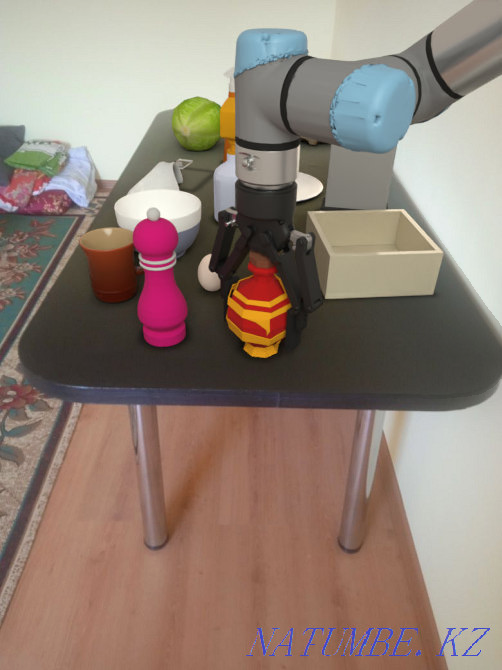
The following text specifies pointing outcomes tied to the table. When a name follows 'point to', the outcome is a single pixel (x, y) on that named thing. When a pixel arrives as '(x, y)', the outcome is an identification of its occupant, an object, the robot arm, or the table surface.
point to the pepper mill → (159, 281)
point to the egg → (208, 275)
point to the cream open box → (373, 254)
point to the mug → (111, 263)
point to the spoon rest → (160, 178)
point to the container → (358, 180)
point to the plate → (307, 187)
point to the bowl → (162, 213)
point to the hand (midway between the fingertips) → (260, 331)
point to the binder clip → (182, 164)
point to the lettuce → (197, 123)
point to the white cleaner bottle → (226, 171)
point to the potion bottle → (259, 308)
